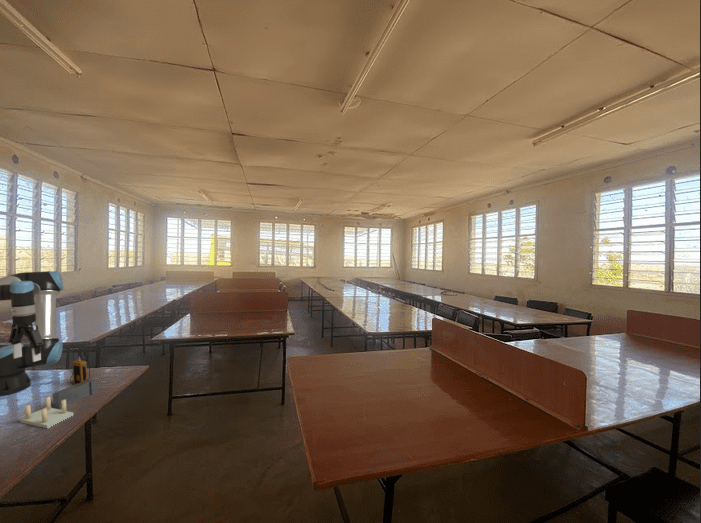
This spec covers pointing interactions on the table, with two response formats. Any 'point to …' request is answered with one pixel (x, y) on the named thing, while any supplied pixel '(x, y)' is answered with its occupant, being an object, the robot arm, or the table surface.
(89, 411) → the table surface
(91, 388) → the long grey bar
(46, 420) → the peg rack
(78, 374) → the multimeter
